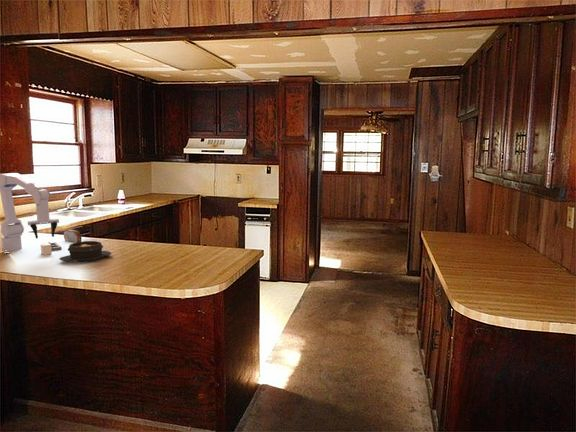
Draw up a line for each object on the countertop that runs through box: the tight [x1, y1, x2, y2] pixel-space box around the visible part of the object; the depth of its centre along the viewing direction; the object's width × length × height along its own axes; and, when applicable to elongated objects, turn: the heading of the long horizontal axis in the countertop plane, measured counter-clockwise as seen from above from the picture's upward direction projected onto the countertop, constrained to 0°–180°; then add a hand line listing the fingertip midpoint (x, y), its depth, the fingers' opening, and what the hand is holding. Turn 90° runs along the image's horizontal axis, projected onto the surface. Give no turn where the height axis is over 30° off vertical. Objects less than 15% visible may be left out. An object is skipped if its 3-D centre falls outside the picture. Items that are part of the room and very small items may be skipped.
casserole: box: [59, 240, 112, 263], centre depth 227 cm, size 25×19×8 cm
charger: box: [40, 242, 52, 256], centre depth 233 cm, size 4×5×7 cm
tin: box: [63, 228, 83, 243], centre depth 265 cm, size 15×3×8 cm, turn 58°
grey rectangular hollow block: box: [47, 242, 63, 252], centre depth 246 cm, size 7×15×4 cm, turn 39°
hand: (44, 237), depth 233 cm, fingers open, 7 cm apart
